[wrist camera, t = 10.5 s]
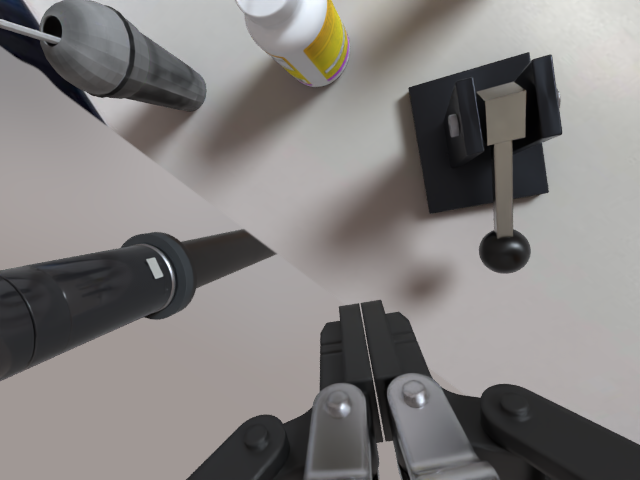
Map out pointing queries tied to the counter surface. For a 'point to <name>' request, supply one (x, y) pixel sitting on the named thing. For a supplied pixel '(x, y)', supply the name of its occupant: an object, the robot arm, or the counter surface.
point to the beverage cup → (112, 56)
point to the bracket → (466, 136)
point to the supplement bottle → (300, 37)
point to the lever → (503, 174)
